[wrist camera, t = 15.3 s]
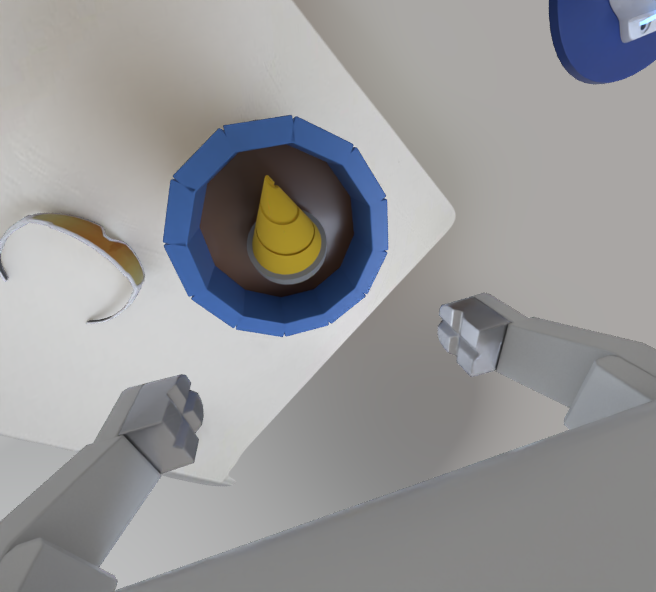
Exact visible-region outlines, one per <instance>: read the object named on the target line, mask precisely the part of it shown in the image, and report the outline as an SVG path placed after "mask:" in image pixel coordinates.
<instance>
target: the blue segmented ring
mask: <svg viewBox="0 0 656 592" xmlns="http://www.w3.org/2000/svg"><path fill="white" fill-rule="evenodd" d="M223 128H224V130H222V129H220V128H219V129H217V131H216V132H215V133H214V134H213V135H212V136H211V137H210V138H209V139H208V140H207V141H206V142H205V143H204V144H203V145H202V146H201V147H200V148H199V149H198V150H197V151H196V152H195V153H194V154H193V155H192V156H191V157H190V158H189V159H188V160H187V162H186V163H185V164H184V165H183V166H182V167H181V168H180V169H179V170H178V171H177V172H176V173H175V174H174V175H173V177H174V178H175V179H172V180H171V181H170V188H169V196H168V204H167V212H166V220H165V228H164V236H163V242H164V243H166V244H165V245H164V248H165V250H166V252H167V254H168V256H169V258H170V260H171V262H172V264H173V266H174V268H175V270H176V272H177V274H178V276H179V278H180V280H181V282H182V284H183V286H184V288H185V290H186V292H187V294H188V296H189V297H190V296H192V298H191V299H192V300H193V301H195V302H196V303H197V304H199V305H200V306H202V307H203V308H205V309H206V310H208V311H209V312H210V313H212V314H213V315H215V316H216V317H218V318H219V319H221V320H222V321H223V322H225V323H226V324H228V325H229V326H231V327H232V328H234V327H235V326H236V330H242V331H248V332H255V333H261V334H267V335H273V336H280V337H283V335H284V334H285V336H290V335H294V334H297V333H301V332H305V331H309V330H313V329H316V328H320V327H324V326H328V325H329V323H328V321H329V322H330V323H331V324H332V323H333V322H334V321H336V320H337V319H338V318H339V317H340V316H342V315H343V314H344V313H345V312H347V311H348V310H349V309H350V308H352V307H353V306H354V305H355V304H357V303H358V302H359V301H360V300H362V299H363V298H364V297H365V294H368V292H369V290H370V288H371V286H372V284H373V282H374V280H375V278H376V276H377V273H378V271H379V269H380V267H381V265H382V263H383V261H384V259H385V257H386V255H387V252H386V251H385V250H388V216H387V199H384V198H385V197H386V195H385V193H384V191H383V190H382V188H381V186H380V185H379V183H378V182H377V180H376V178H375V177H374V175H373V173H372V172H371V170H370V168H369V167H368V165H367V163H366V162H365V160H364V158H363V157H362V155H361V154H360V152H359V150H358V149H357V148H356V147H353V144H352V143H350V142H348V141H346V140H344V139H342V138H340V137H338V136H336V135H334V134H332V133H330V132H328V131H326V130H324V129H322V128H320V127H317V126H315V125H313V124H311V123H309V122H307V121H305V120H303V119H301V118H299V117H297V116H295V117H294V118H293V119H292V115H288V116H281V117H275V118H268V119H262V120H255V121H249V122H242V123H236V124H229V125H224V126H223ZM284 144H287V145H289V146H291V147H294V148H296V149H298V150H300V151H303V152H305V153H307V154H309V155H312V156H314V157H316V158H318V159H321V160H323V161H325V162H327V164H328V165H329V167H330V168H331V169H332V171H333V172H334V174H335V175H336V177H337V178H338V179H339V181H340V182H341V184H342V185H343V187H344V188H345V190H346V191H347V192H348V194H349V195H350V197H351V208H352V218H353V229H354V236H353V238H352V240H351V243H350V245H349V248H348V250H347V252H346V255H345V257H344V259H343V262H342V264H341V266H340V268H339V269H337V270H336V271H335V272H334V273H333V274H331V275H330V276H329V277H328V278H327V279H326V280H324V281H323V282H322V283H321V284H320V285H318V286H317V287H316V288H315V289H313V290H309V291H305V292H301V293H297V294H293V295H289V296H285V297H276V296H272V295H267V294H263V293H258V292H253V291H249V290H245V289H243V288H242V287H241V286H240V285H238V284H237V283H236V282H235V281H234V280H232V279H231V278H230V277H229V276H227V275H226V274H225V273H224V272H222V271H221V270H220V269H219V268H218V267H216V266H215V264H214V262H213V259H212V257H211V254H210V252H209V249H208V247H207V244H206V242H205V239H204V237H203V234H202V232H201V230H200V221H201V216H202V210H203V204H204V199H205V193H206V188H207V183H208V182H209V181H210V180H211V179H212V178H213V177H214V176H215V175H216V174H217V173H218V172H219V171H220V170H221V169H222V168H223V167H224V166H225V165H226V164H227V163H228V162H229V161H230V160H231V159H232V158H233V157H234V156H235V155H237V154H238V153H239V152H243V151H248V150H254V149H260V148H266V147H272V146H278V145H284ZM364 293H365V294H364Z"/></svg>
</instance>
